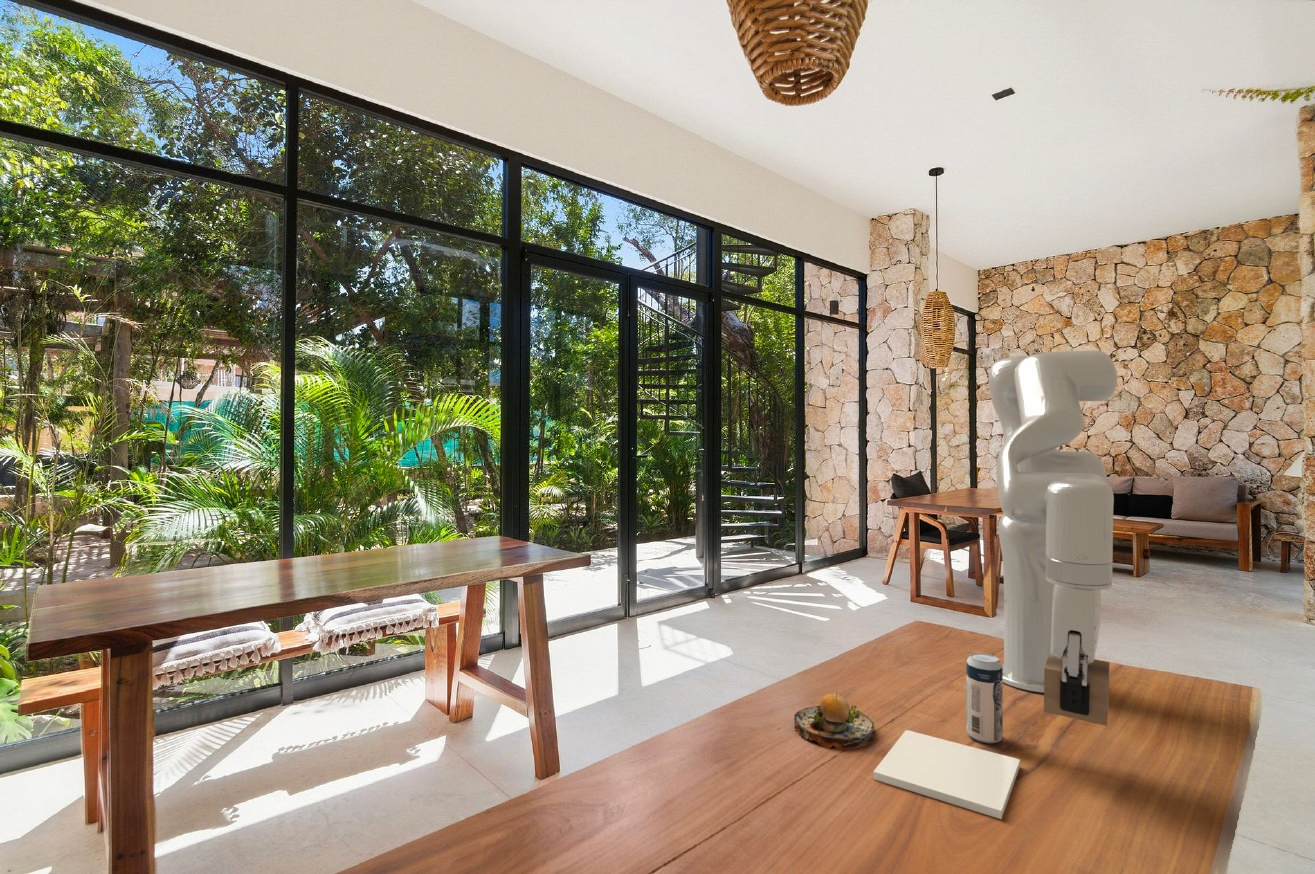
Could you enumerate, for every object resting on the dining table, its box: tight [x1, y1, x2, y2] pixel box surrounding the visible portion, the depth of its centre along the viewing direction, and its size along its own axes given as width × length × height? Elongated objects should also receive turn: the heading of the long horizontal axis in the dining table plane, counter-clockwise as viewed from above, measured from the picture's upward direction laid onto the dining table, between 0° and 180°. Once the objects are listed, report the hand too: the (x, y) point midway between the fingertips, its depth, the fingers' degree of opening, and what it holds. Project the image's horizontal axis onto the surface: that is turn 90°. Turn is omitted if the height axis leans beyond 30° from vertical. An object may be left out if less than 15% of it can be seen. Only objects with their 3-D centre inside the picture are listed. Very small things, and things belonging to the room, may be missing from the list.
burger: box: [793, 692, 875, 750], centre depth 99 cm, size 12×12×8 cm
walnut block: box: [1043, 652, 1111, 727], centre depth 88 cm, size 7×7×6 cm
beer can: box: [966, 652, 1004, 744], centre depth 96 cm, size 5×5×12 cm
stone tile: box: [872, 729, 1021, 820], centre depth 86 cm, size 15×15×1 cm
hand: (1076, 699), depth 88 cm, fingers closed on walnut block, 7 cm apart
